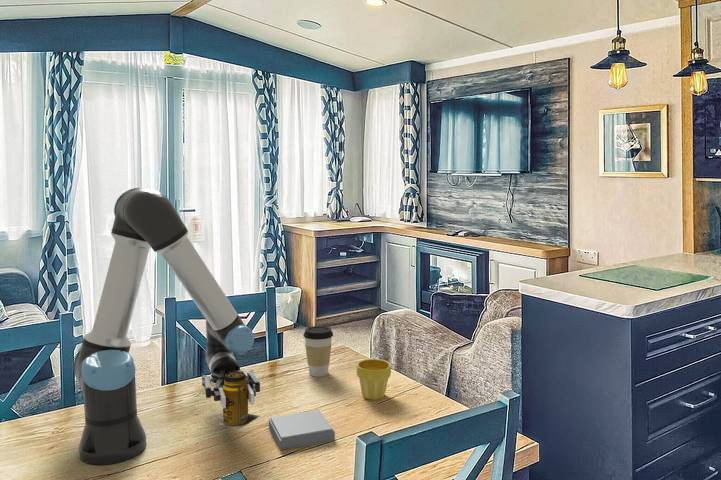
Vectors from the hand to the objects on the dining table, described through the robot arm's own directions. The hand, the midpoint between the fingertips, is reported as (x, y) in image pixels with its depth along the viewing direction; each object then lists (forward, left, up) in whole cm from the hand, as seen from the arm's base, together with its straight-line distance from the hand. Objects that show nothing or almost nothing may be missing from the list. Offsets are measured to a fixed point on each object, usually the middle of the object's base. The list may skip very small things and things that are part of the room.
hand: (238, 401), depth 138 cm
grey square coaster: (+16, +5, -13) cm, 22 cm away
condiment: (+1, +5, -7) cm, 9 cm away
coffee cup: (+33, +46, -14) cm, 58 cm away
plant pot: (+43, +22, -14) cm, 50 cm away
